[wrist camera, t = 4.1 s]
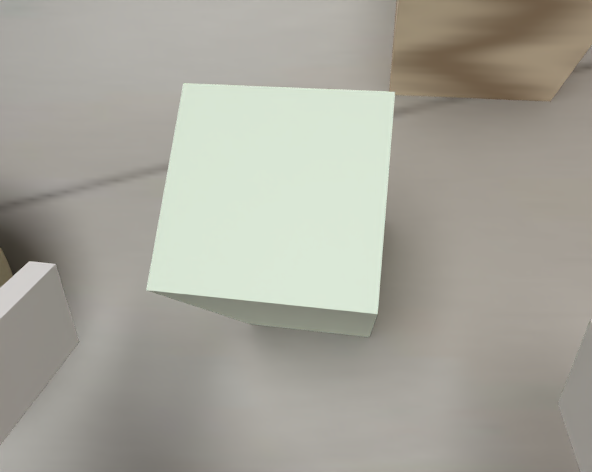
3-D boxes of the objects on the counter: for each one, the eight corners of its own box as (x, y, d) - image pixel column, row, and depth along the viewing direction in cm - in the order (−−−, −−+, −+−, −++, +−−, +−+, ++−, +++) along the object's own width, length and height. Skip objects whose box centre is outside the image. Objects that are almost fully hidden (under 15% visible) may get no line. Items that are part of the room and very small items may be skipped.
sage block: (251, 324, 22) (146, 290, 11) (265, 211, 23) (183, 83, 12) (369, 337, 21) (377, 313, 10) (378, 220, 22) (394, 91, 12)
